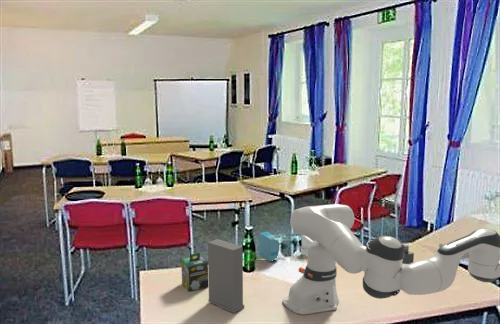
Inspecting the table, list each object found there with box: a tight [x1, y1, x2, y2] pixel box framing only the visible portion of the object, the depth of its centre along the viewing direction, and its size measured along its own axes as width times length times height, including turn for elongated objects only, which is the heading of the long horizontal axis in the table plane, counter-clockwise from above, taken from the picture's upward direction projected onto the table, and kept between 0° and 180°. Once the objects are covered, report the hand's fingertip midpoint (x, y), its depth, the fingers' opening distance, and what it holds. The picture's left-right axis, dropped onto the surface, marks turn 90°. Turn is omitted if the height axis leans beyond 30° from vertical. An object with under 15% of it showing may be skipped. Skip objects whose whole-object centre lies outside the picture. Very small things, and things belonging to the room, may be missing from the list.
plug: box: [402, 244, 415, 264], centre depth 211 cm, size 5×5×13 cm
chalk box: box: [180, 252, 209, 292], centre depth 201 cm, size 9×9×15 cm
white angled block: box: [300, 235, 314, 257], centre depth 239 cm, size 4×10×9 cm
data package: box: [258, 231, 279, 262], centre depth 233 cm, size 12×4×12 cm, turn 27°
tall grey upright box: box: [207, 238, 245, 314], centre depth 182 cm, size 14×6×25 cm, turn 48°
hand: (448, 243), depth 190 cm, fingers open, 8 cm apart
